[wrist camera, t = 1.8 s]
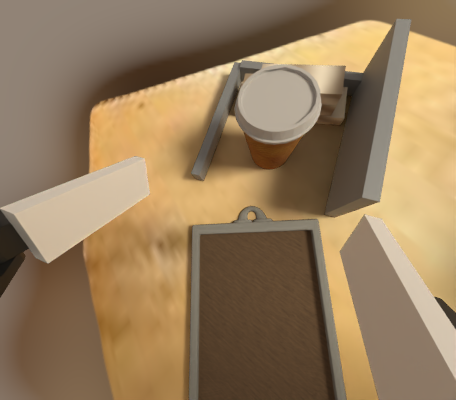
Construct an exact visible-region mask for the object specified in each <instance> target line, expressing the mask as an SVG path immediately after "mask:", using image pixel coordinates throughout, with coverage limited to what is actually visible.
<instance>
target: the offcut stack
mask: <svg viewBox="0 0 456 400" xmlns="http://www.w3.org/2000/svg"><path fill="white" fill-rule="evenodd" d="M273 65H282V64H263V65H262V69H263V68H265V67H269V66H273ZM283 65H291V66H296V67H299V68H302V69H304V70H305V71H307V72H309V73H310V74H311V75H312V76H313V77H314V79H315V80H316V81H317V83H318V86H319V88H320V97H321V104H322V106H321V111H320V115H319V117H318V119H317V121H316V123H319V124H331V125H340V124H341V123H342V121H343V120H344V117H345V107H346V98H347V88H348V87H343V85H344V76H345V67H346V66H332V65H292V64H283ZM251 75H253V74H247V73H245V77H244V81H243V82H241V84H240V88H239V92H240V89H241V87H242V85H243V84H244V82H245V81H246V80H247V79H248V78H249V77H250V76H251ZM239 92H238V95H239ZM237 97H238V96H237ZM234 112H235V108H234Z"/></svg>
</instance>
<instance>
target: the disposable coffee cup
mask: <svg viewBox="0 0 456 400" xmlns="http://www.w3.org/2000/svg"><path fill="white" fill-rule="evenodd" d="M321 106H322V104H321V97H320V88H319V86H318V83H317V81H316V80H315V79H314V77H313V76H312V75H311V74H310V73H309V72H307V71H305V70H304V69H302V68H299V67H296V66H291V65H283V64H282V65H273V66H269V67H265V68H263V69H260V70H259V71H257V72H255V73H254V74H253V75H251V76H250V77H249V78H248V79H247V80H246V81H245V82H244V84H243V85H242V87H241V89H240V92H239V95H238V97H237V100H236V104H235V116H236V120H237V122H238V124H239V126H240V127H241V129H242V130H243V131H244V134H245V137H246V140H247V143H248V146H249V149H250V152H251V155H252V159H253V161H254V162H255V163H256V164H257V165H258V166H260V167H262V168H264V169H275V168H278V167H280V166H282V165H283V164H284V163H285V162H286V160H287V159H288V157H289V156H290V154H291V153H292V151H293V150H294V148H295V147H296V145H297V144H298V142H299V141H300V139H301V138H302V136H303V135H304V134H305V133H307V132H308V131H309V130H310V129H311V128H312V127H313V126H314V124H315V123H316V121H317V119H318V117H319V115H320V111H321Z"/></svg>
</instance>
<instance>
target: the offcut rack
mask: <svg viewBox="0 0 456 400" xmlns="http://www.w3.org/2000/svg"><path fill="white" fill-rule="evenodd" d="M410 24H411V19H410V20H409V19H396V21H395V23H394V24H393V26H392V27H391V29H390V31H389V32H388V34H387V35H386V37H385V39H384V40H383V42H382V43H381V45H380V47H379V48H378V50H377V52H376V53H375V55H374V56H373V58H372V60H371V61H370V63H369V65H368V66H367V68H366V69H365V71H364V73H357V72H348V71H345V76H344V85H343V87H348V88H347V96H352V97H351V101H350V106H349V110H348V114H347V119H346V123H345V127H344V132H343V136H342V140H341V145H340V149H339V153H338V157H337V162H336V166H335V170H334V175H333V179H332V183H331V188H330V192H329V196H328V201H327V205H326V209H325V215H328V216H332V217H338V216H340V215H343V214H346V213H349V212H352V211H355V210H358V209H360V208H363V207H366V206H369V205H372V204H375V203H378V202H380V197H381V192H382V186H383V180H384V174H385V169H386V163H387V157H388V151H389V145H390V140H391V134H392V128H393V122H394V117H395V111H396V105H397V99H398V93H399V88H400V82H401V76H402V70H403V65H404V59H405V53H406V47H407V41H408V36H409V30H410ZM263 64H271V63H262V62H252V61H243V60H242V62H241V63H237V62H235V63H234V65H233V68H232V70H231V73H230V75H229V78H228V80H227V83H226V86H225V88H224V91H223V93H222V96H221V98H220V101H219V103H218V106H217V108H216V111H215V114H214V116H213V119H212V121H211V124H210V126H209V129H208V131H207V134H206V136H205V139H204V141H203V144H202V147H201V149H200V152H199V154H198V157H197V159H196V162H195V164H194V167H193V169H192V172H191V174H192V175H193V176H194V177H195V178H196V179H199V180H202V181H204V179H205V176H206V173H207V171H208V168H209V165H210V163H211V160H212V157H213V155H214V152H215V149H216V147H217V144H218V141H219V139H220V136H221V133H222V131H223V128H224V126H225V123H226V120H227V118H228V115H229V112H230V110H231V107H232V104H233V102H234V99H235V96H236V94H237V91H238V88H239V86H240V83H241V82H243V81H244V77H245V73H247V74H254V73H255V72H257V71H259V70H260V69H262V65H263Z"/></svg>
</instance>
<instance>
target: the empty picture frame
mask: <svg viewBox="0 0 456 400" xmlns="http://www.w3.org/2000/svg"><path fill="white" fill-rule="evenodd" d="M250 211H253V212H255V213H256V218H257V219H255V220H254V221H253V222H252V220H248V218H247V215H248V212H250ZM189 400H347V399H346V393H345V386H344V380H343V373H342V367H341V361H340V354H339V348H338V342H337V335H336V329H335V323H334V316H333V310H332V303H331V297H330V291H329V284H328V278H327V272H326V265H325V259H324V253H323V246H322V240H321V233H320V227H319V221H318V219H307V220H287V221H273V220H272V219H267V218H266V216H265V214H264V213H263V211H262V210H260V209H259V208H257V207H254V206H250V207H247V208H245V209H244V210H242V212H241V213H240V215H239V218H238V220H235V221H234V222H233V223H225V224H205V225H193V226H192V268H191V317H190V366H189Z"/></svg>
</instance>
